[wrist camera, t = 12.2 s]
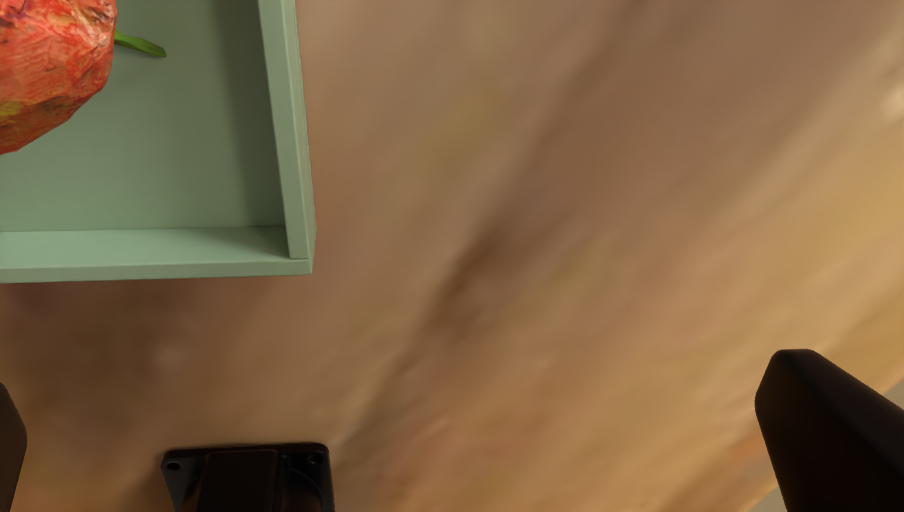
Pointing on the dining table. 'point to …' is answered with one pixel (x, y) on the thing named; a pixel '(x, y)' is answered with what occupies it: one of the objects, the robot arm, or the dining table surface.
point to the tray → (173, 157)
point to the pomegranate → (54, 62)
